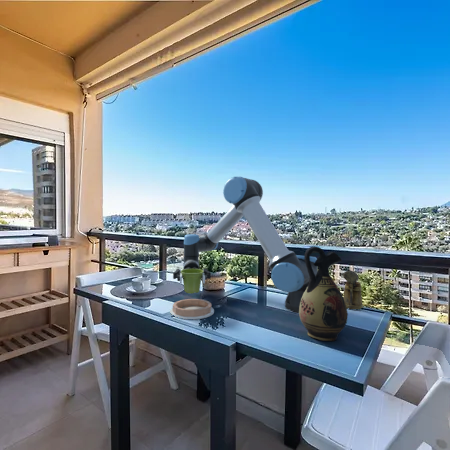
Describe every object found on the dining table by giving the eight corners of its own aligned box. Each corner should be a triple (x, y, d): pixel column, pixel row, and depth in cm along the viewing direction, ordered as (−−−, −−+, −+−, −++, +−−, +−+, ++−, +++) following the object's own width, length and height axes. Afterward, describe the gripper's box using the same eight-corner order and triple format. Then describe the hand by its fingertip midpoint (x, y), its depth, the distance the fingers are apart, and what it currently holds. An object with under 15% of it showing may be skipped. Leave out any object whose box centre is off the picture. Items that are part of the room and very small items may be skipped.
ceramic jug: (335, 326, 106) (337, 245, 105) (355, 345, 91) (358, 250, 90) (288, 326, 106) (290, 244, 105) (301, 345, 90) (303, 249, 89)
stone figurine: (337, 310, 125) (338, 268, 125) (343, 302, 136) (344, 264, 136) (359, 314, 120) (361, 271, 120) (364, 306, 132) (365, 266, 131)
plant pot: (199, 295, 114) (199, 273, 114) (176, 293, 116) (177, 272, 116) (205, 289, 124) (206, 269, 123) (184, 288, 125) (185, 268, 125)
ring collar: (222, 310, 123) (222, 302, 123) (196, 322, 108) (196, 314, 107) (189, 302, 132) (189, 295, 132) (160, 313, 117) (160, 305, 117)
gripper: (213, 276, 139) (218, 289, 117) (168, 277, 136) (165, 289, 114) (213, 261, 139) (219, 270, 116) (168, 261, 136) (165, 270, 113)
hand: (192, 279), depth 115 cm, fingers closed on plant pot, 8 cm apart
